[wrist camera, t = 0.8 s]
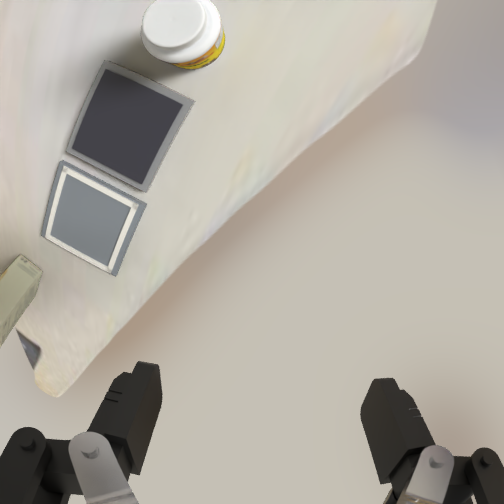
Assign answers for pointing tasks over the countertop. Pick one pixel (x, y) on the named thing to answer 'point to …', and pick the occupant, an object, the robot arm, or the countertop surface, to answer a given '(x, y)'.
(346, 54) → the countertop surface
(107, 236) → the grey square pad
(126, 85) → the ink pad
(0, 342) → the skincare box
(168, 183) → the countertop surface
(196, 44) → the supplement bottle
